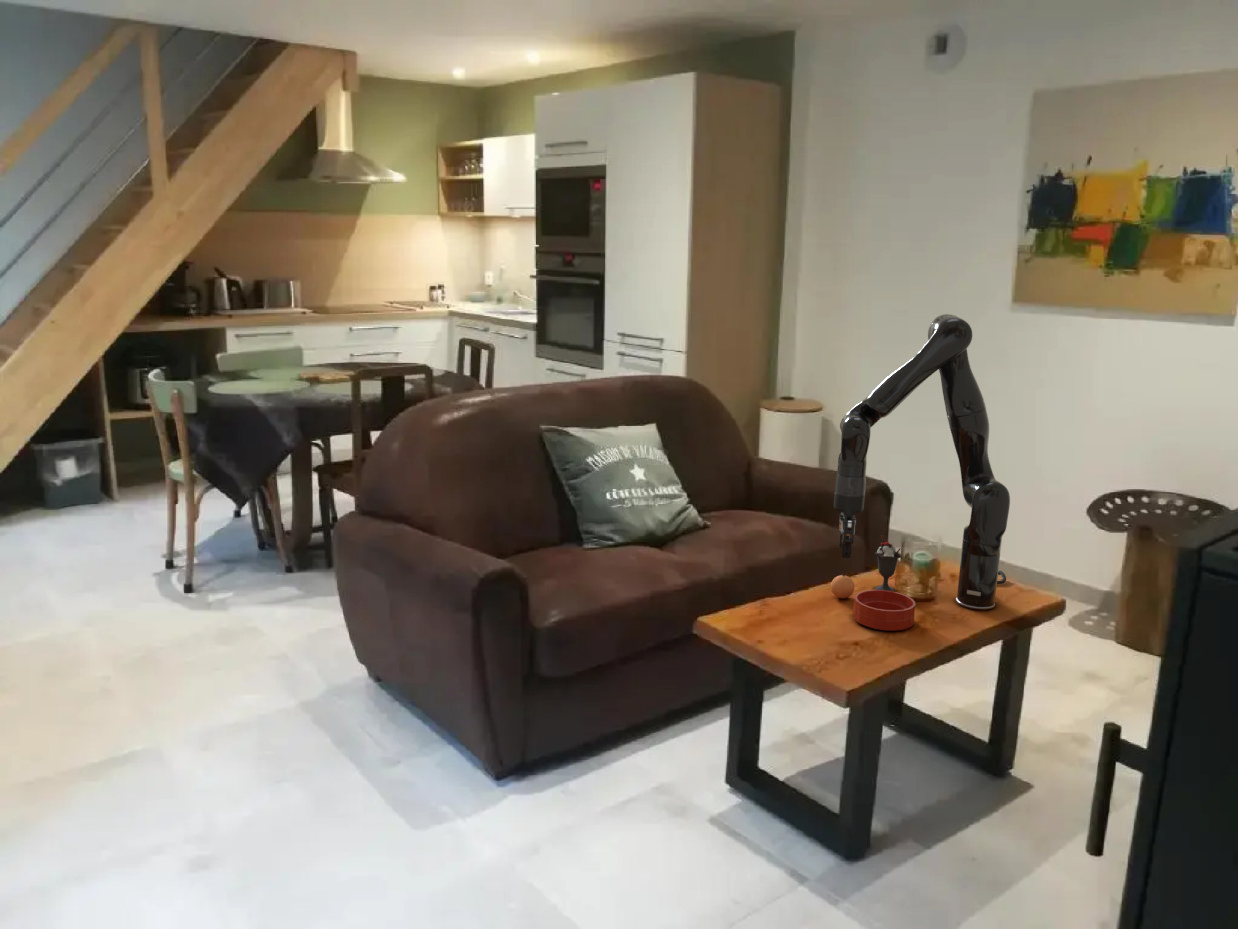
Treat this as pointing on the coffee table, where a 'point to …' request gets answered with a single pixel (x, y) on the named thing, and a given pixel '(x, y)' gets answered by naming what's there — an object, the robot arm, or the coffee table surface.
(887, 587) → the sundae
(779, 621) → the coffee table surface
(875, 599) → the bowl
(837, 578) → the peach
